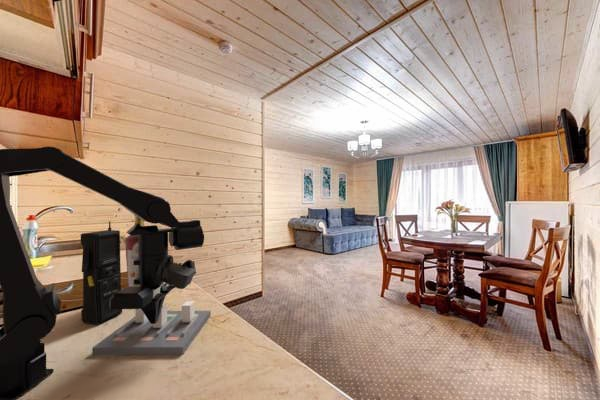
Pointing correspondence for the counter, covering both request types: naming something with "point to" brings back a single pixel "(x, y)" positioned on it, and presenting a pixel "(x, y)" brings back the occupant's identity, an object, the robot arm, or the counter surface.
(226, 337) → the counter surface
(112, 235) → the portable radio
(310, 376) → the counter surface
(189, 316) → the block
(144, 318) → the block
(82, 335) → the counter surface
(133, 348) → the panel
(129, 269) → the liquor
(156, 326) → the breaker middle
